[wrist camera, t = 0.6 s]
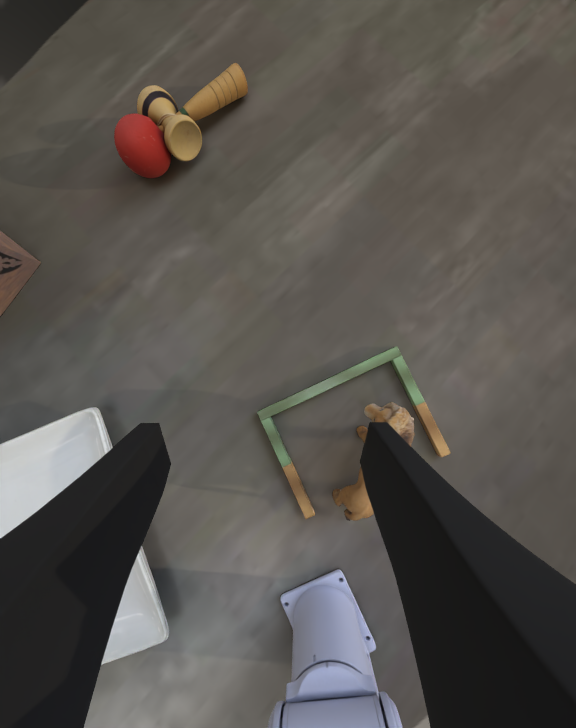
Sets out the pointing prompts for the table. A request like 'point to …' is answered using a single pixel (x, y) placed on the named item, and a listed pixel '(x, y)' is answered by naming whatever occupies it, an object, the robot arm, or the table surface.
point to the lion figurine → (357, 494)
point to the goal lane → (329, 383)
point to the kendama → (172, 124)
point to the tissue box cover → (13, 270)
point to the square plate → (51, 476)
